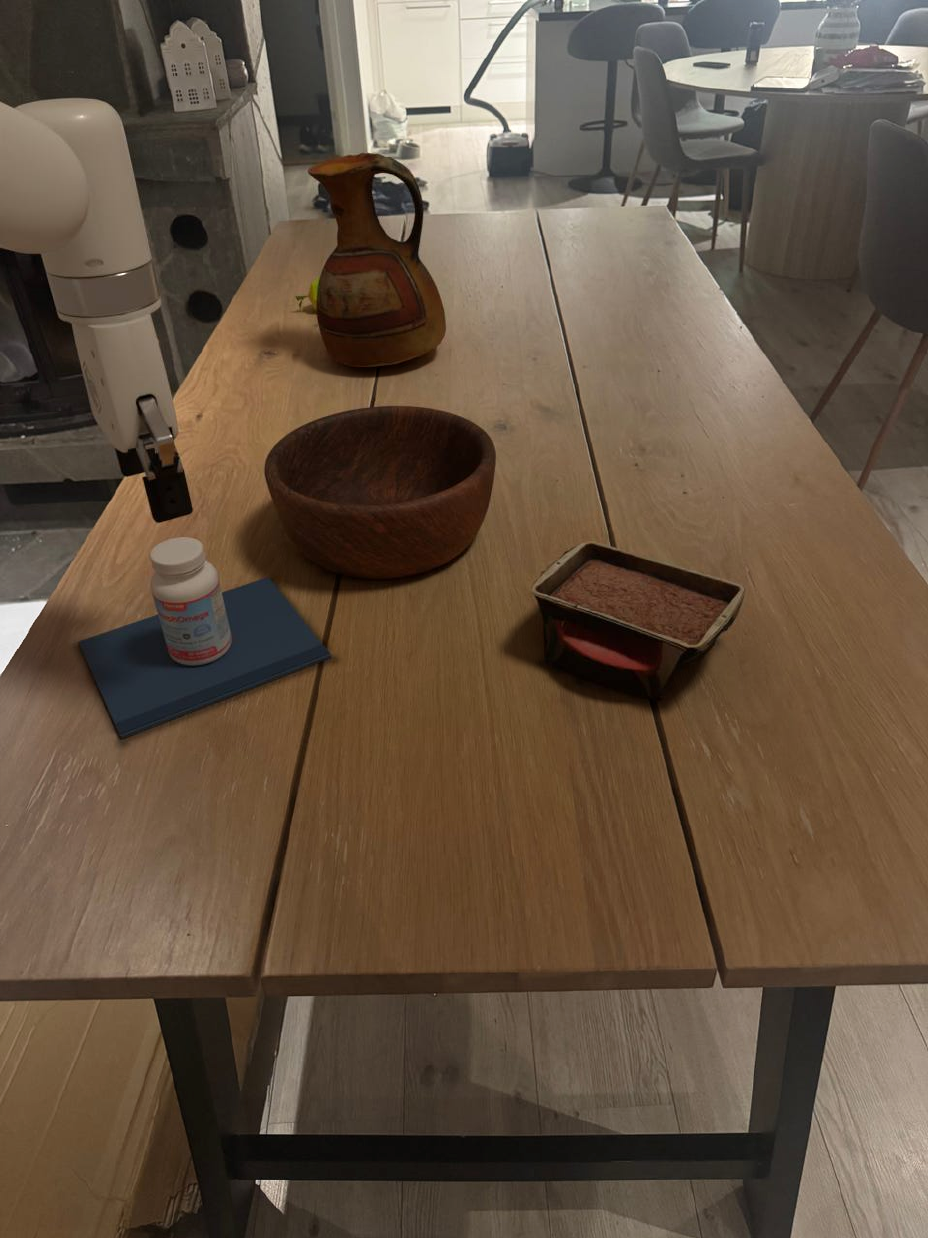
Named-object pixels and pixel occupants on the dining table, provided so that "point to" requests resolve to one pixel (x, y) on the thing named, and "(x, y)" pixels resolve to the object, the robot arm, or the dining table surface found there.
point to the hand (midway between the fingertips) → (156, 493)
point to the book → (164, 689)
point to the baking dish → (629, 616)
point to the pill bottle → (189, 602)
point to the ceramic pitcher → (374, 272)
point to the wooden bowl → (382, 489)
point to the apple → (311, 294)
